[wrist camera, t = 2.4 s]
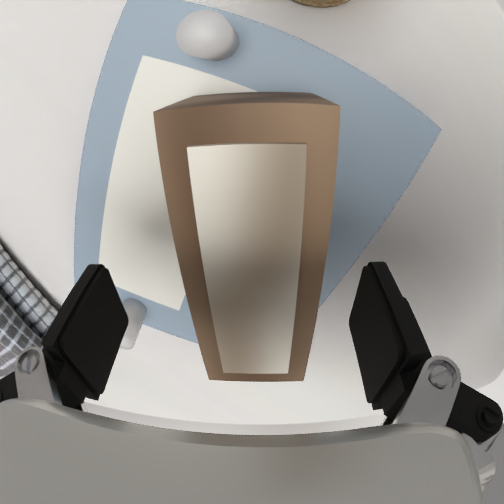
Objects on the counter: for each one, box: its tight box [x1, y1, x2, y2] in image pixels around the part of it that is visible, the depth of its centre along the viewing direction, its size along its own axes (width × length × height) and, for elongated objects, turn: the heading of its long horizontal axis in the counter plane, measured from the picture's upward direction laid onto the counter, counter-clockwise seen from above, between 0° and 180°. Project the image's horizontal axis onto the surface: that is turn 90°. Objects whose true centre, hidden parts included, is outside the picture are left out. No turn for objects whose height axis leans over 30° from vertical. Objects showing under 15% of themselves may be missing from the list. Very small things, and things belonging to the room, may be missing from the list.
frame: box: [153, 92, 340, 382], centre depth 12 cm, size 5×13×5 cm, turn 2°
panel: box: [74, 0, 441, 349], centre depth 14 cm, size 16×20×4 cm
